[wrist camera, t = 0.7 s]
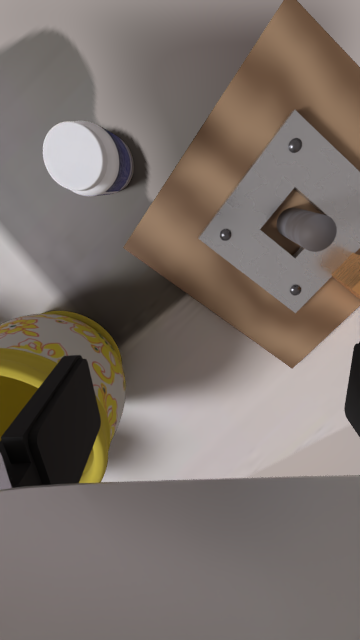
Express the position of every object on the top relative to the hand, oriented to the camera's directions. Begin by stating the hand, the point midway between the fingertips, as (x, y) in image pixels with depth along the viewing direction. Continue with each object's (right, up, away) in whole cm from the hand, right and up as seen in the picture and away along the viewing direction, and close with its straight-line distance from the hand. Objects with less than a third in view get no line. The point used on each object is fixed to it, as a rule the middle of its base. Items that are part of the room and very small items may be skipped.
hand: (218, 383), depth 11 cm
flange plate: (+13, +11, +22) cm, 28 cm away
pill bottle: (-9, +19, +22) cm, 30 cm away
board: (+10, +13, +23) cm, 28 cm away
